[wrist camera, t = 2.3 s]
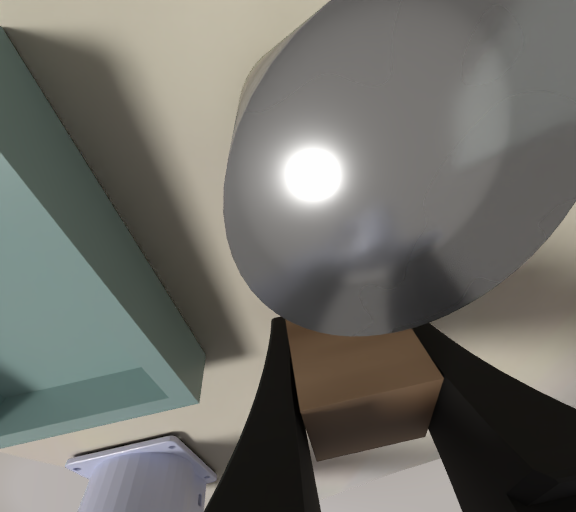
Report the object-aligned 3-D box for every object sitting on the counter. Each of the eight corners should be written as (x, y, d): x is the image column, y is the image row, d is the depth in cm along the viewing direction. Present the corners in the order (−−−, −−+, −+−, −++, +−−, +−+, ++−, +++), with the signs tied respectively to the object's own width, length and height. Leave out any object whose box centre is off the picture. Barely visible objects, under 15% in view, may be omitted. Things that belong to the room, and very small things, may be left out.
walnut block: (364, 312, 14) (425, 436, 10) (292, 329, 14) (316, 461, 10) (363, 254, 12) (443, 378, 7) (277, 273, 12) (300, 411, 7)
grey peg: (362, 167, 10) (526, 302, 4) (256, 191, 10) (271, 360, 4) (360, 26, 7) (739, -121, 2) (220, 57, 7) (139, 11, 2)
